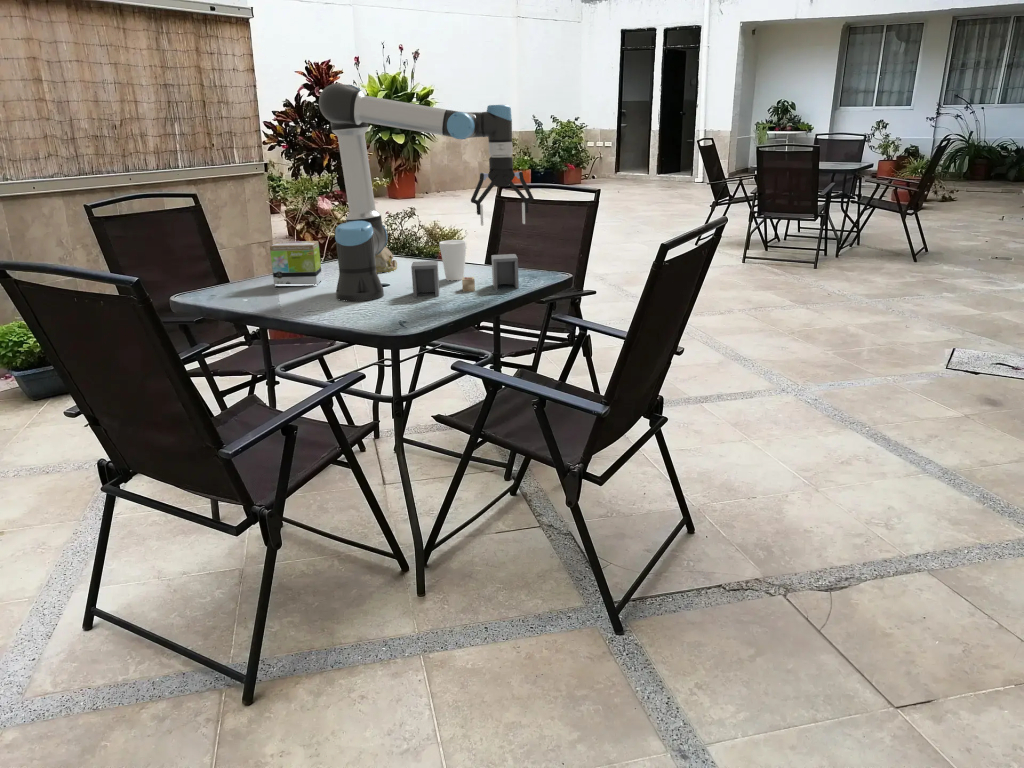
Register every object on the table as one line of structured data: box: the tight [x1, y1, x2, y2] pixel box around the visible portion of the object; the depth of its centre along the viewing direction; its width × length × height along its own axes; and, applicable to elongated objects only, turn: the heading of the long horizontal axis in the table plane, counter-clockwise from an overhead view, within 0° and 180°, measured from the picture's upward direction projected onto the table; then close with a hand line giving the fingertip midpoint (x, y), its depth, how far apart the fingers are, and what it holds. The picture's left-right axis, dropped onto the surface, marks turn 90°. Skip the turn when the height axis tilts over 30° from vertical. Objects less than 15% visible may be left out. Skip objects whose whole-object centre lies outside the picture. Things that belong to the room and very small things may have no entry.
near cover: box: [410, 260, 440, 298], centre depth 251 cm, size 8×8×10 cm
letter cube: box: [461, 276, 476, 292], centre depth 256 cm, size 4×4×4 cm
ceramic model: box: [375, 246, 398, 274], centre depth 296 cm, size 14×11×10 cm
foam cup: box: [438, 239, 468, 282], centre depth 273 cm, size 10×9×13 cm
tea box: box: [269, 240, 323, 285], centre depth 273 cm, size 15×10×15 cm, turn 92°
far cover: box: [491, 253, 520, 290], centre depth 259 cm, size 8×8×10 cm
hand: (503, 224), depth 254 cm, fingers open, 13 cm apart
